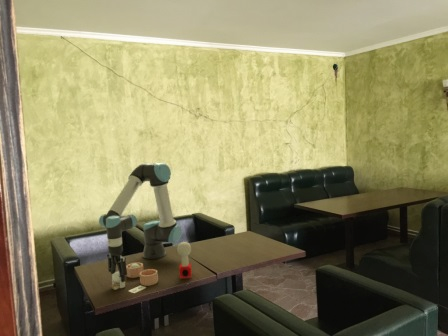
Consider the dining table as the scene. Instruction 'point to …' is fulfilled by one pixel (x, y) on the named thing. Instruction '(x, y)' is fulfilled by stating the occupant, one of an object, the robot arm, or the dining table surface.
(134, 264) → the ball sage
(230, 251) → the dining table surface
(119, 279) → the robot arm
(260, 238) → the dining table surface
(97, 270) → the dining table surface
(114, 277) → the ball grey
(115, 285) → the cradle
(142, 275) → the cup
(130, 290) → the card
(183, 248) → the toy
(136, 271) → the cup
